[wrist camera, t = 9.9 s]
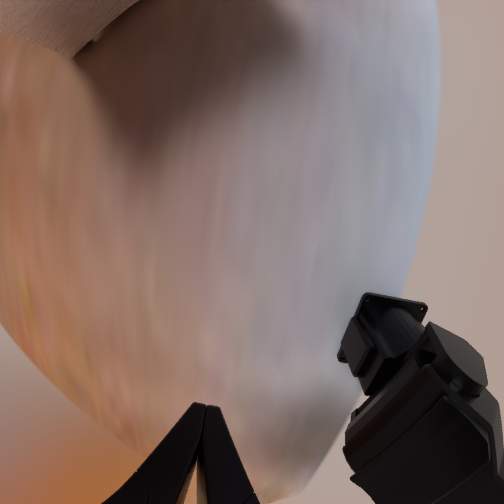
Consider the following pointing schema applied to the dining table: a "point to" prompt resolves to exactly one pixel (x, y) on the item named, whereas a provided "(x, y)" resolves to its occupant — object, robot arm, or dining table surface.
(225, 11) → the dining table surface
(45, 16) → the silver boxy shape
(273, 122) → the dining table surface
